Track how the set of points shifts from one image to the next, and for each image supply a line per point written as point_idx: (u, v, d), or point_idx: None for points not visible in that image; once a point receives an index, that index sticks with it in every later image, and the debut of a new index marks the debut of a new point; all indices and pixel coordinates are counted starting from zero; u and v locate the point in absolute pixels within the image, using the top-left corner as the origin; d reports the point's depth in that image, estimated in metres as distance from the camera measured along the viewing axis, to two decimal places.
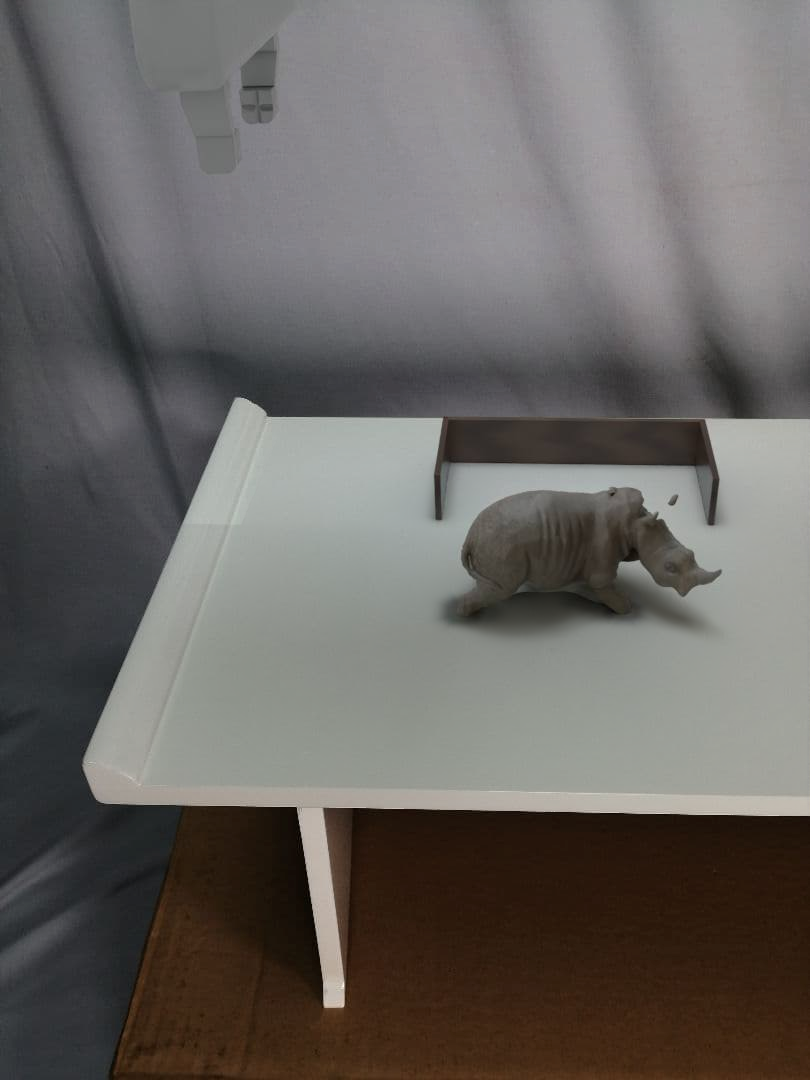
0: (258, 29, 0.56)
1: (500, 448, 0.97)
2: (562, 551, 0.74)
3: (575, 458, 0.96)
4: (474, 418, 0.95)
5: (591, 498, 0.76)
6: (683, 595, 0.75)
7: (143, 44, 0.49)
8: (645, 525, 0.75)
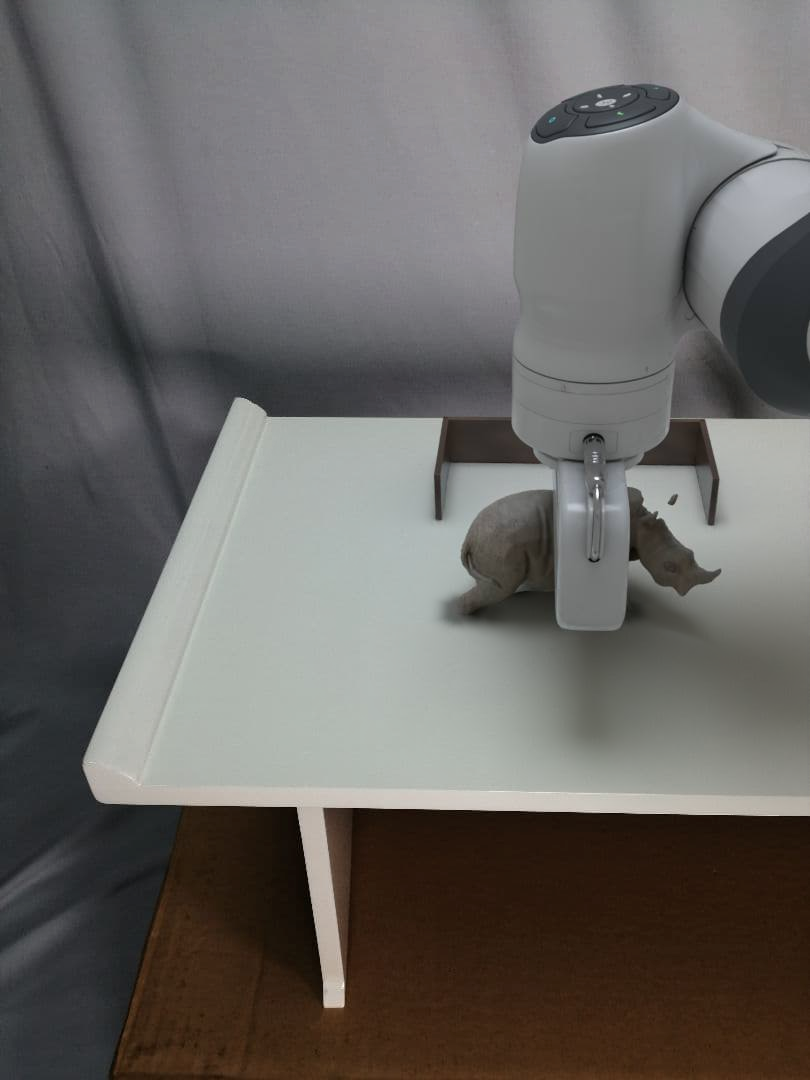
0: None
1: (500, 448, 0.97)
2: None
3: None
4: (474, 418, 0.95)
5: None
6: (682, 595, 0.75)
7: (567, 606, 0.61)
8: (645, 525, 0.75)
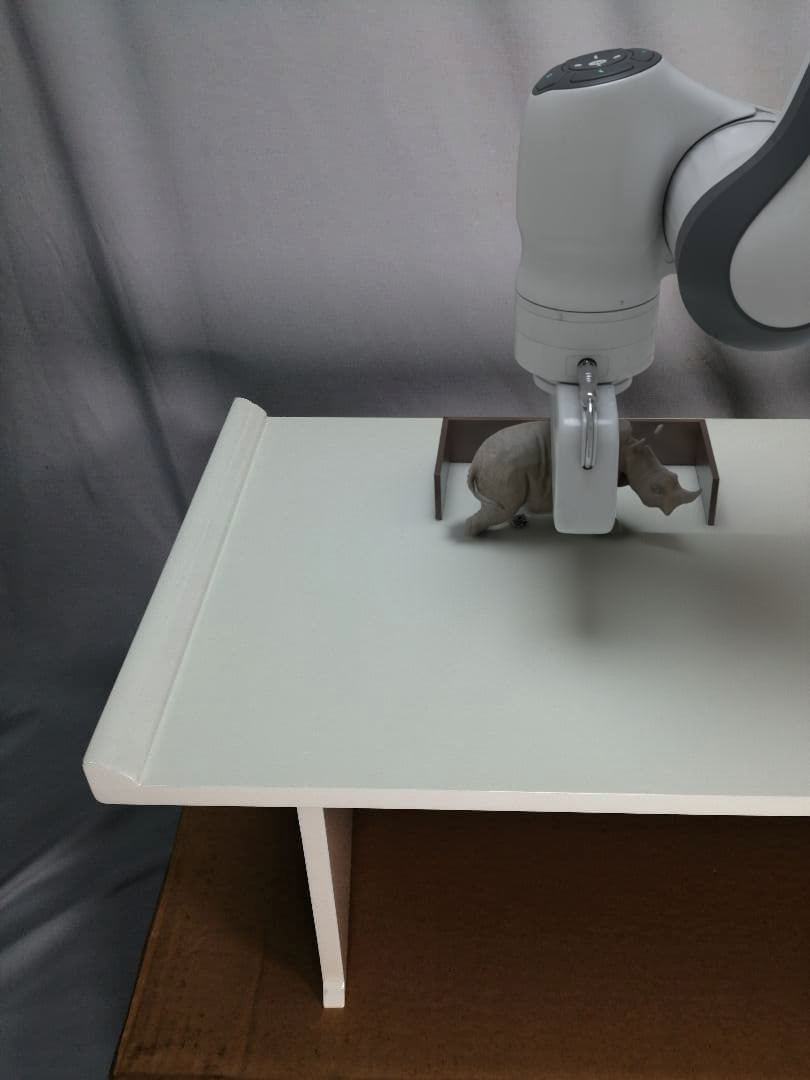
0: None
1: None
2: None
3: None
4: (474, 418, 0.95)
5: None
6: (668, 514, 0.83)
7: (563, 510, 0.69)
8: (634, 451, 0.83)
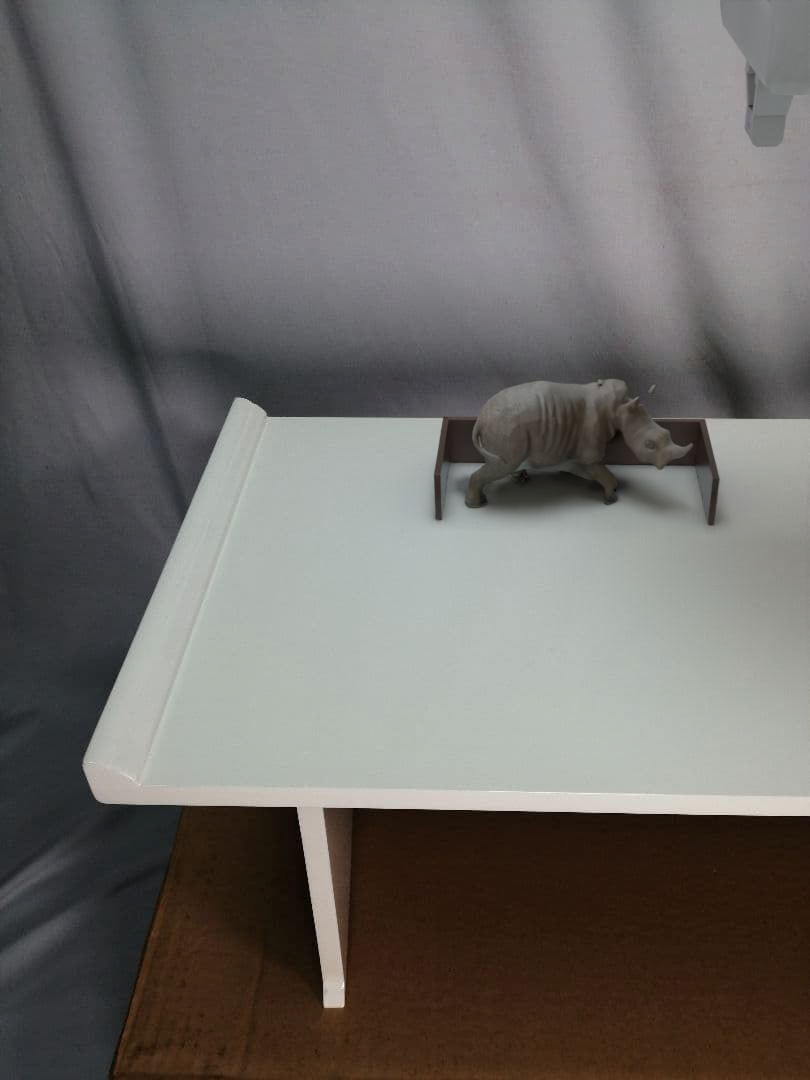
0: None
1: None
2: (557, 430, 0.87)
3: None
4: (474, 418, 0.95)
5: (582, 387, 0.89)
6: (660, 468, 0.88)
7: (784, 55, 0.58)
8: (628, 409, 0.88)
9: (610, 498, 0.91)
